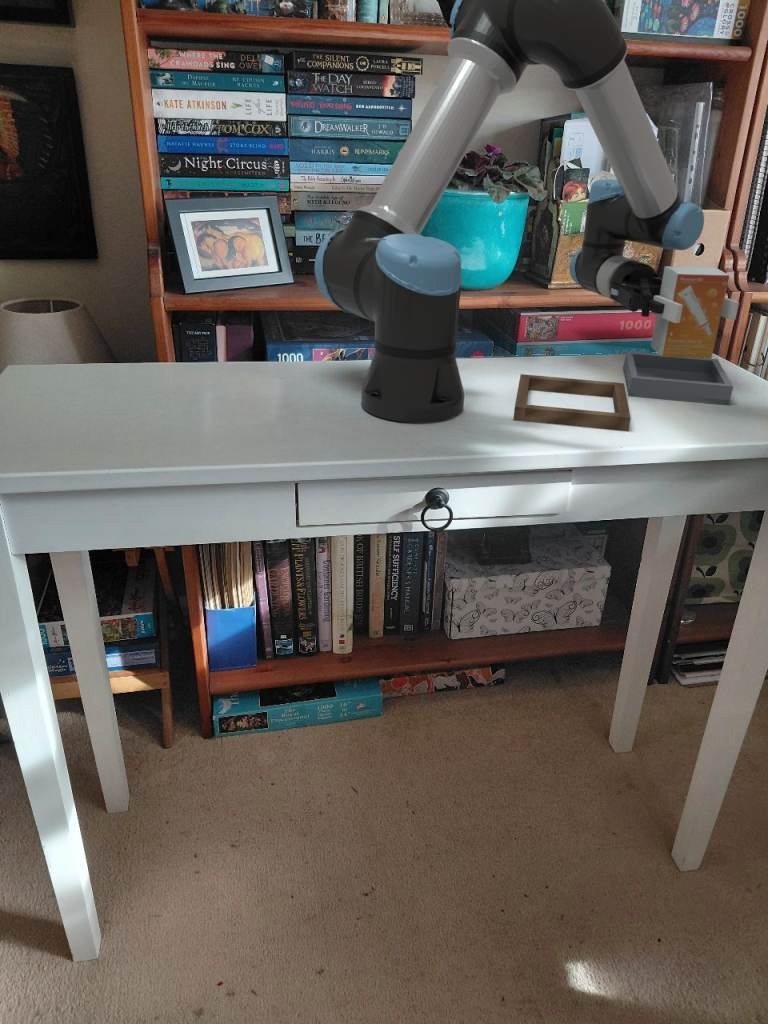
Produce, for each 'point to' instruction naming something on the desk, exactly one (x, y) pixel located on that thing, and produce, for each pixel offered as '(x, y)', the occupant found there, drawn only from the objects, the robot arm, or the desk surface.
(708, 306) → the small box
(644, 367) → the slate tray
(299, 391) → the desk surface
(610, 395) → the walnut frame
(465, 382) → the desk surface
